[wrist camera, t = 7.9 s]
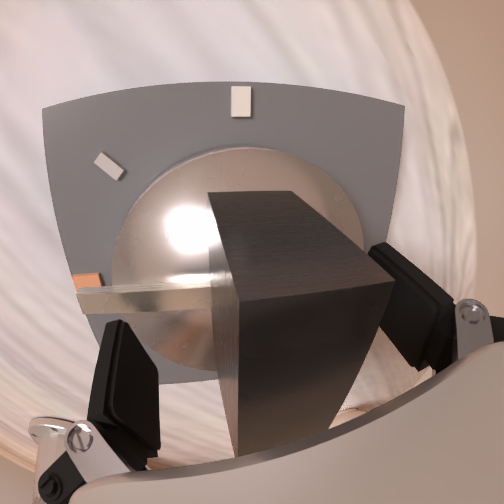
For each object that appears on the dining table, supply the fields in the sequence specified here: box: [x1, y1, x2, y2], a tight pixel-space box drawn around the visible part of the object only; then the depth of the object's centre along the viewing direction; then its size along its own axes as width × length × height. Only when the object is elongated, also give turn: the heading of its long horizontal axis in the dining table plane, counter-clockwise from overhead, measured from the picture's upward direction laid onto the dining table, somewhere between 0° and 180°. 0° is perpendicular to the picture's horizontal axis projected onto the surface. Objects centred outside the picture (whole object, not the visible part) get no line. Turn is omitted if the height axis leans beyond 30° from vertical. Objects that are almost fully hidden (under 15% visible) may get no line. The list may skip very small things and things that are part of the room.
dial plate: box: [42, 82, 405, 384], centre depth 14 cm, size 16×16×2 cm
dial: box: [76, 144, 396, 457], centre depth 9 cm, size 12×11×8 cm
